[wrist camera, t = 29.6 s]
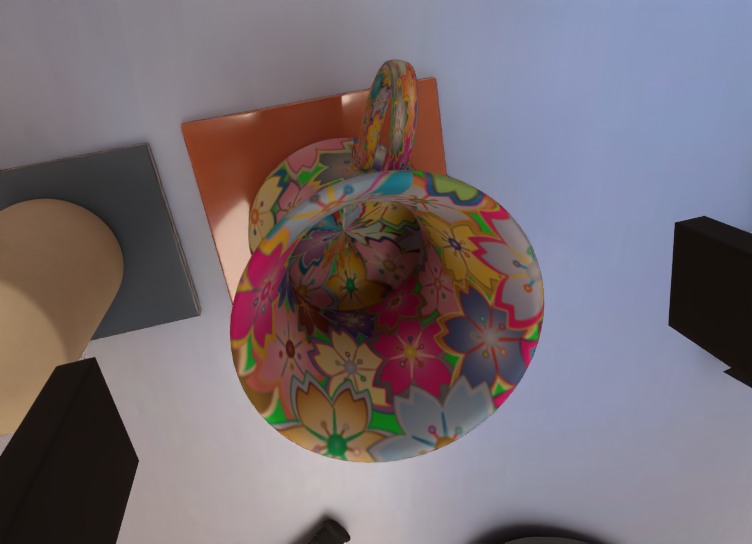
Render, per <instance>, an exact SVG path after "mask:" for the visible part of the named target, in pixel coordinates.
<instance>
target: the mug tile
mask: <svg viewBox="0 0 752 544" xmlns="http://www.w3.org/2000/svg"><path fill="white" fill-rule="evenodd" d="M417 89H418V113H417V125H416V133H415V139H414V145H413V149H412V154H411V157H410V161H409V162H410V163H411V164H412V165H413V166H414V167H415V168H416V169H417V170H418V171H425V172H431V173H436V174H441V175H445V176H447V173H446V164H445V155H444V146H443V137H442V128H441V119H440V110H439V101H438V92H437V83H436V78H435V77H428V78H423V79H418V80H417ZM370 90H371V88H369V89H364V90H359V91H353V92H348V93H342V94H337V95H332V96H326V97H321V98H315V99H310V100H305V101H299V102H294V103H289V104H283V105H278V106H272V107H267V108H262V109H256V110H251V111H246V112H240V113H235V114H229V115H224V116H219V117H213V118H208V119H202V120H197V121H192V122H186V123H182V124H181V126H180V127H181V130H182V134H183V137H184V140H185V144H186V147H187V151H188V154H189V158H190V161H191V164H192V168H193V171H194V175H195V178H196V182H197V185H198V189H199V192H200V195H201V199H202V202H203V206H204V209H205V213H206V216H207V220H208V223H209V226H210V230H211V233H212V237H213V240H214V244H215V247H216V250H217V254H218V257H219V261H220V264H221V268H222V271H223V275H224V278H225V281H226V285H227V288H228V292H229V295H230V299H231V302H232V305H233V300H234V297H235V293H236V290H237V286H238V283H239V281H240V278H241V276H242V273H243V271H244V269H245V267H246V265H247V263H248V261H249V259H250V257H251V253H250V248H249V240H248V227H249V218H250V213H251V209H252V206H253V203H254V200H255V198H256V195H257V193H258V191H259V189H260V187H261V186H262V184H263V183H264V181H265V180H266V178H267V177H268V176H269V175H270V173H271V172H272V171H273V170H274V169H275V168H276V167H277V166H278V165H279V164H280V163H281V162H282V161H283V160H285V159H286V158H287V157H289V156H290V155H292V154H293V153H295V152H296V151H298V150H300V149H302V148H304V147H306V146H309V145H311V144H313V143H317V142H320V141H324V140H329V139H335V138H358V139H359V134H360V129H361V124H362V119H363V115H364V111H365V107H366V103H367V99H368V96H369V93H370ZM391 111H392V96H391V99H390V101H389V104H388V107H387V110H386V114H385V117H384V121H383V124H382V128H381V132H380V137H379V141H378V143H379V144H382V145H384V146H386V147H387V146H388V140H389V133H390V125H391Z"/></svg>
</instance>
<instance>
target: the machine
mask: <svg viewBox="0 0 752 544" xmlns="http://www.w3.org/2000/svg"><path fill="white" fill-rule="evenodd" d="M723 372H724V373H726V374H728V375H730V376H732V377H733V378H735V379H737V380H739V381H740V382H742V383H744V384H746V385H748V386H749V387H751V388H752V381H750V380H749V379H747V378H746V377H744V376H743V375H741V374H740V373H739V372H737V371H736V370H734V369H733V368H730V369H728V370H726V371H723Z"/></svg>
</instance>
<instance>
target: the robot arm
mask: <svg viewBox="0 0 752 544" xmlns="http://www.w3.org/2000/svg"><path fill="white" fill-rule="evenodd" d="M668 325H669V326H670V327H672V328H673V329H675V330H676V331H678V332H679V333H681V334H682V335H684V336H685V337H687V338H688V339H690V340H691V341H693V342H694V343H696V344H697V345H699V346H700V347H702V348H703V349H705V350H706V351H707V352H709V353H710V354H712V355H713V356H715V357H716V358H718V359H719V360H721V361H722V362H724V363H725V364H727V365H728V366H730V367H731V368H733V369H734V370H736V371H737V372H739V373H740V374H741V375H743V376H744V377H746V378H747V379H749V380H750V381H752V234H751V233H748V232H746V231H743V230H740V229H738V228H735V227H732V226H730V225H727V224H724V223H722V222H719V221H717V220H714V219H711V218H709V217H706V216H702V217H698V218H693V219H689V220H685V221H680V222H676V223H675V230H674V245H673V261H672V277H671V292H670V308H669V323H668ZM138 462H139V460H138V457H137V455H136V452H135V450H134V448H133V445H132V443H131V441H130V438H129V436H128V434H127V431H126V429H125V426H124V424H123V422H122V419H121V417H120V415H119V412H118V410H117V408H116V405H115V403H114V401H113V398H112V396H111V393H110V391H109V389H108V386H107V384H106V382H105V379H104V377H103V375H102V372H101V370H100V367H99V365H98V363H97V360H96V358H95V357H93V358H89V359H84V360H80V361H76V362H71V363H67V364H63V365H59V366H56V367H55V369H54V370H53V372H52V374H51V375H50V377H49V378H48V380H47V382H46V383H45V385H44V387H43V388H42V390H41V391H40V393H39V395H38V396H37V398H36V400H35V401H34V403H33V404H32V406H31V408H30V409H29V411H28V412H27V414H26V416H25V417H24V419H23V421H22V422H21V424H20V425H19V427H18V429H17V430H16V432H15V434H14V435H13V437H12V438H11V440H10V442H9V443H8V445H7V446H6V448H5V450H4V451H3V453H2V455H1V456H0V544H116V541H117V538H118V534H119V531H120V527H121V523H122V520H123V516H124V513H125V509H126V505H127V502H128V498H129V495H130V491H131V487H132V484H133V480H134V477H135V473H136V469H137V466H138Z"/></svg>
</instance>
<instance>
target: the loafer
mask: <svg viewBox="0 0 752 544" xmlns="http://www.w3.org/2000/svg"><path fill="white" fill-rule="evenodd" d="M505 544H590V543H587V542H583V541H578V540H573V539H567V538H559V537H544V538H543V537H526V538H520V539H516V540H512V541H509V542H507V543H505Z"/></svg>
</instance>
